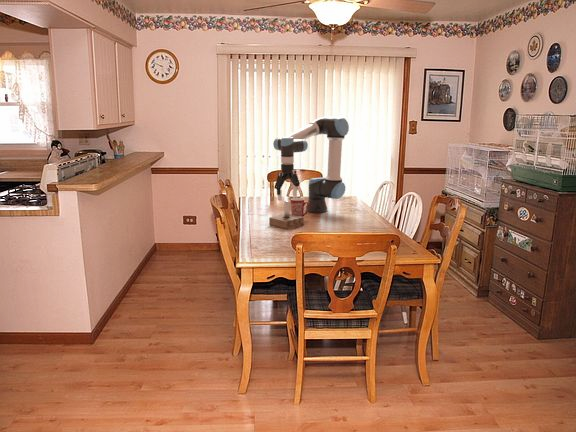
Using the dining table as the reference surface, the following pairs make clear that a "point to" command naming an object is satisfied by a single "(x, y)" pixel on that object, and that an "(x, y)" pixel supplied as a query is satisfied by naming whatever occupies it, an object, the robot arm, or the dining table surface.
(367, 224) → the dining table surface
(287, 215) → the pin
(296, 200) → the mug
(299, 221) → the bore block
